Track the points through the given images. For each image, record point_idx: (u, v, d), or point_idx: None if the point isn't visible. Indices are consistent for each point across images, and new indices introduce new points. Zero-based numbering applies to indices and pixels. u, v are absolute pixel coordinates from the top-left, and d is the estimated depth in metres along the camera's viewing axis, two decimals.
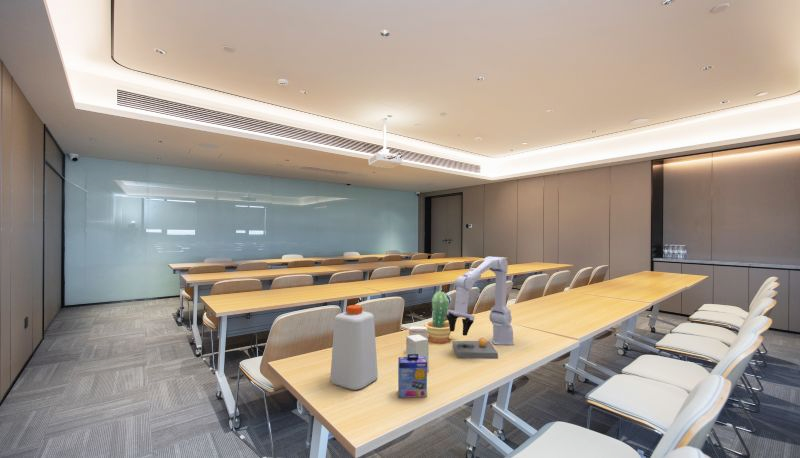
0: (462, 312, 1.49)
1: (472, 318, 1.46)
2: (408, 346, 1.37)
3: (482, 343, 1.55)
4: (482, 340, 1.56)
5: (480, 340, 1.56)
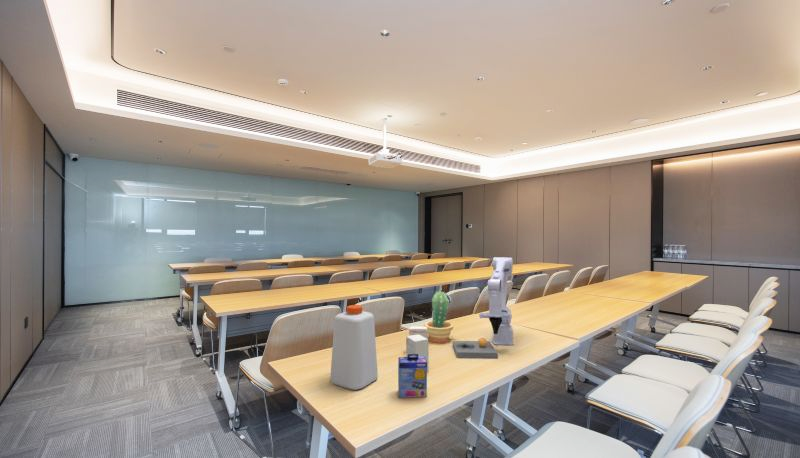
0: (501, 313, 1.55)
1: None
2: (408, 346, 1.37)
3: (482, 343, 1.55)
4: (482, 340, 1.56)
5: (480, 340, 1.56)
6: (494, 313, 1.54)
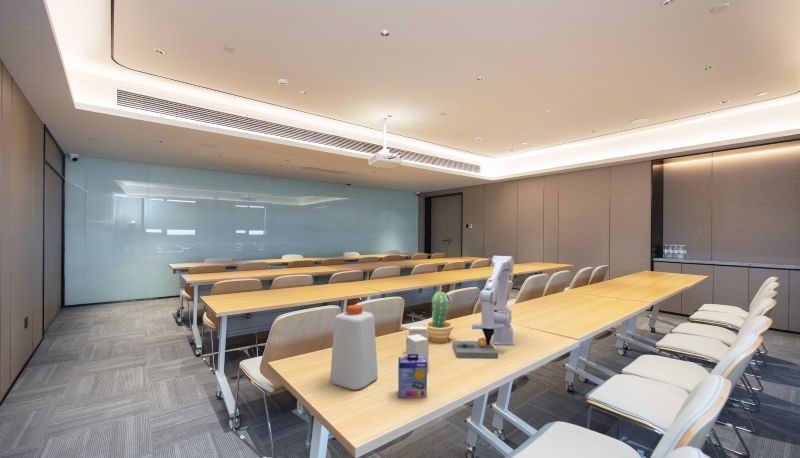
0: (493, 324, 1.55)
1: None
2: (408, 346, 1.37)
3: (482, 343, 1.55)
4: (482, 340, 1.56)
5: (480, 340, 1.56)
6: (486, 324, 1.54)
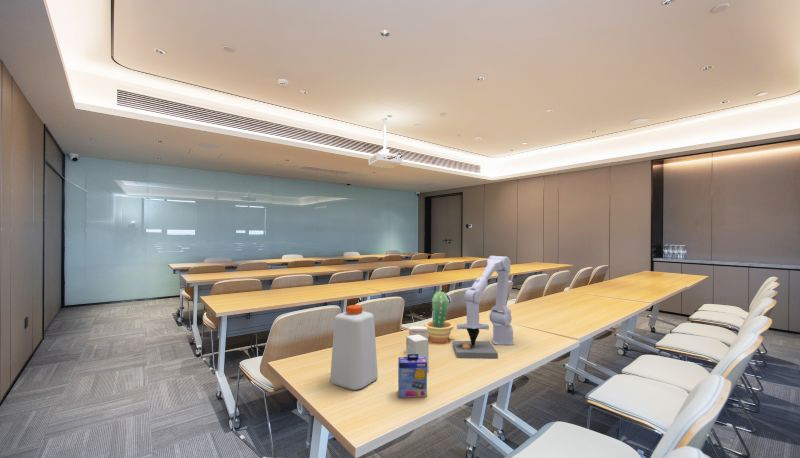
0: (478, 324, 1.56)
1: None
2: (408, 346, 1.37)
3: None
4: None
5: (469, 346, 1.56)
6: (471, 324, 1.55)
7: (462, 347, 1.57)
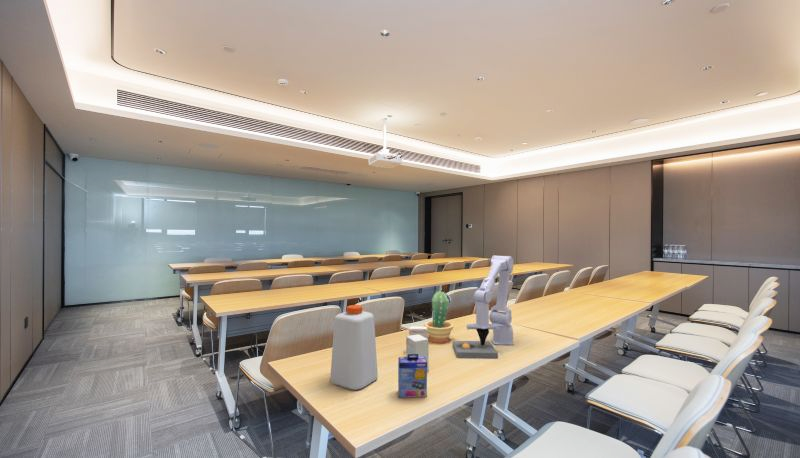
0: (488, 325, 1.56)
1: None
2: (408, 346, 1.37)
3: None
4: None
5: (469, 346, 1.56)
6: (481, 325, 1.55)
7: None
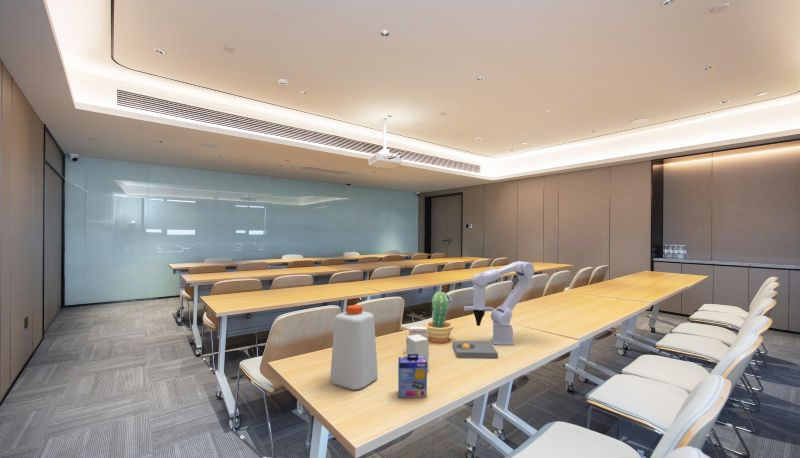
0: (484, 306, 1.67)
1: None
2: (408, 346, 1.37)
3: None
4: None
5: (469, 346, 1.56)
6: (477, 306, 1.66)
7: None
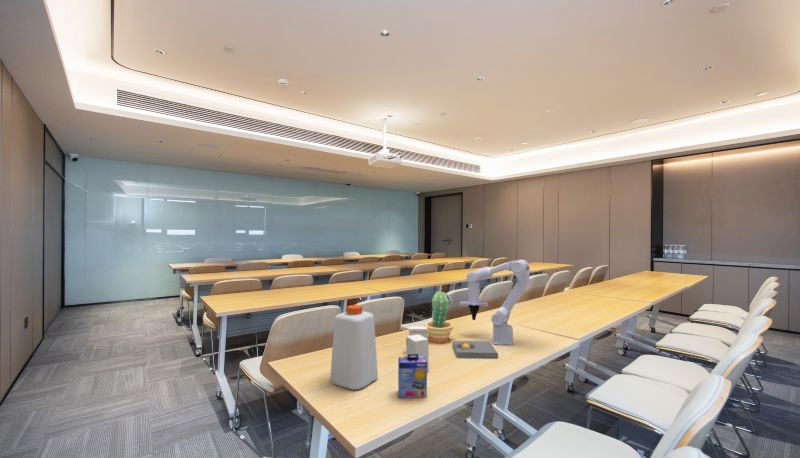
0: (478, 302, 1.77)
1: (487, 304, 1.78)
2: (408, 346, 1.37)
3: None
4: None
5: (469, 346, 1.56)
6: (472, 301, 1.77)
7: None
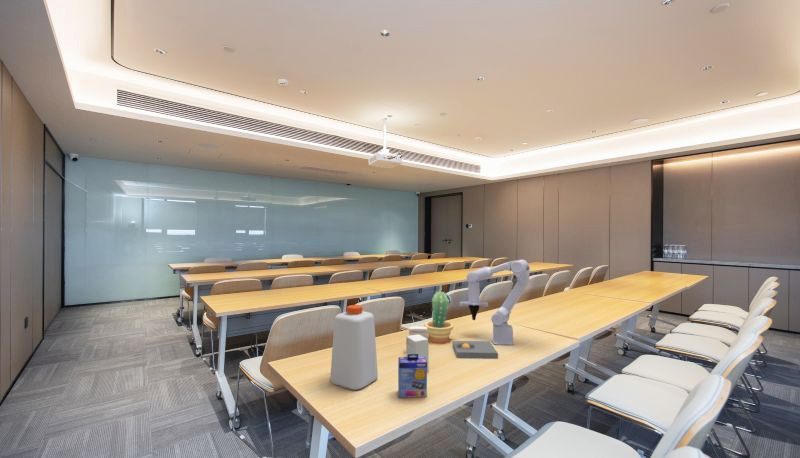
0: (478, 302, 1.77)
1: (487, 304, 1.78)
2: (408, 346, 1.37)
3: None
4: None
5: (469, 346, 1.56)
6: (472, 301, 1.77)
7: None
